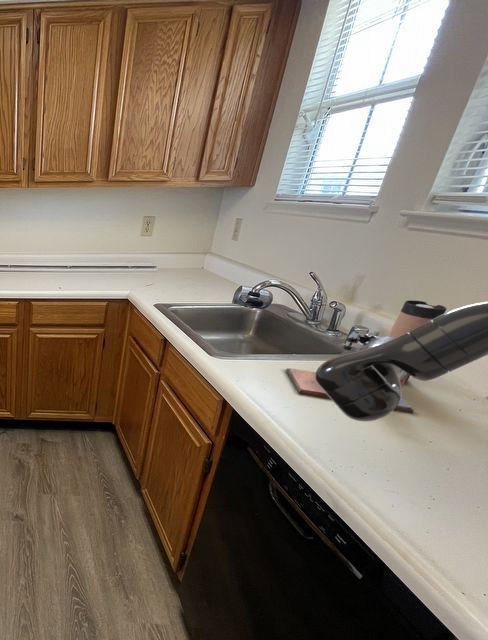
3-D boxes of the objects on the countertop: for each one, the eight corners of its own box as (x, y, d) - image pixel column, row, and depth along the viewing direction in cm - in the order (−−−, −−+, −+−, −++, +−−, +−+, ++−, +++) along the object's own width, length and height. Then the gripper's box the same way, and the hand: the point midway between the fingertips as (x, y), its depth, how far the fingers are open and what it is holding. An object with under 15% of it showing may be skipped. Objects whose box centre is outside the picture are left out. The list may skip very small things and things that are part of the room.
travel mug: (378, 381, 108) (415, 307, 99) (364, 369, 115) (398, 298, 106) (414, 386, 106) (455, 311, 97) (398, 373, 113) (435, 302, 104)
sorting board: (385, 386, 106) (387, 382, 105) (412, 413, 94) (414, 409, 93) (285, 370, 113) (287, 367, 112) (298, 393, 101) (300, 389, 101)
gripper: (449, 356, 67) (462, 336, 76) (341, 330, 77) (365, 315, 86) (425, 396, 70) (441, 372, 79) (325, 367, 80) (350, 348, 89)
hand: (402, 342), depth 82 cm, fingers open, 8 cm apart
